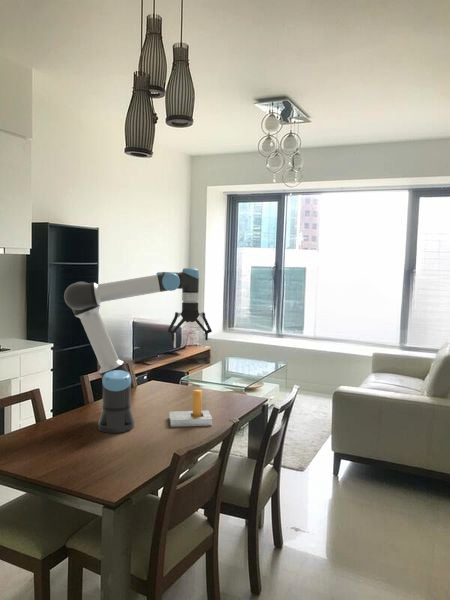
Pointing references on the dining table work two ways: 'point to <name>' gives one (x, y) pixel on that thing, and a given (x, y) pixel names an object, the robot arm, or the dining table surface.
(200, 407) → the pin
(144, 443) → the dining table surface
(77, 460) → the dining table surface
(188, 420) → the white peg hole block
